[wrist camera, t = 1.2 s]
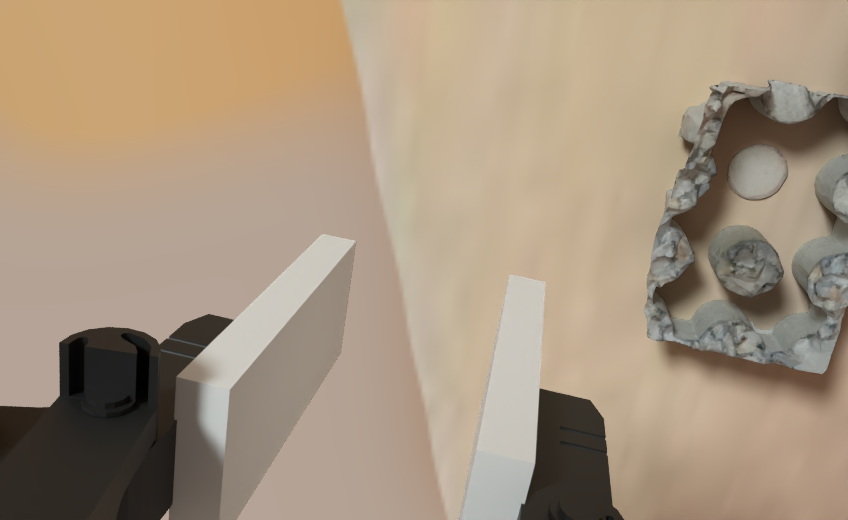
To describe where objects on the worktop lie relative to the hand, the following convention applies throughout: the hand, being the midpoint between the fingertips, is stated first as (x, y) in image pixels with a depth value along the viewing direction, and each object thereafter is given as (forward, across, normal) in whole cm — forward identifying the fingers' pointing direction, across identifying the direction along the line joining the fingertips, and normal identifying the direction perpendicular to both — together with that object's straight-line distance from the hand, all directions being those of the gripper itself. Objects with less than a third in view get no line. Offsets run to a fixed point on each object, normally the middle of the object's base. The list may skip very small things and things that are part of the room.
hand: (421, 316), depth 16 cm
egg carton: (+17, +11, 0) cm, 20 cm away
